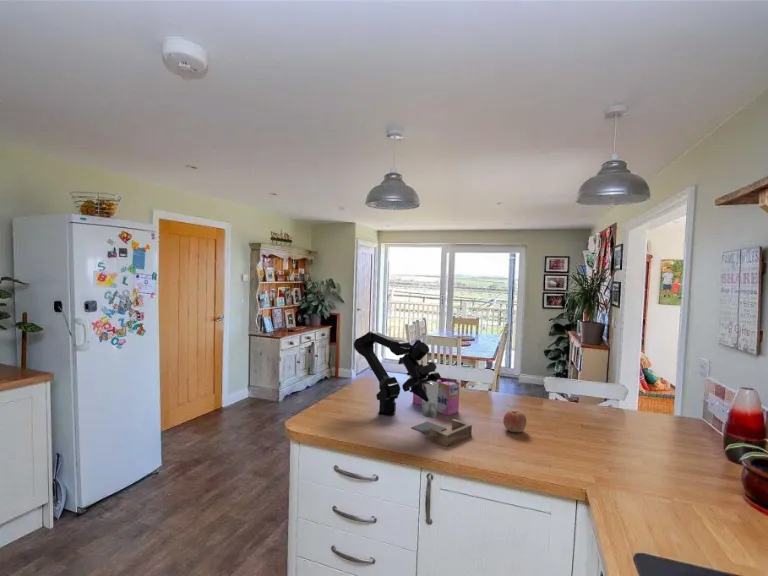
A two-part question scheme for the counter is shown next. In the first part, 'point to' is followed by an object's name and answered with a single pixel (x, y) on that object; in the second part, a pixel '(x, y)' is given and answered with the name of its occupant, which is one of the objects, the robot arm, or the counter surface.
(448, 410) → the gum box
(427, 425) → the rubber mat
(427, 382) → the steel tin
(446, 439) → the walnut rack
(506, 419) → the apple
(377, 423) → the counter surface
